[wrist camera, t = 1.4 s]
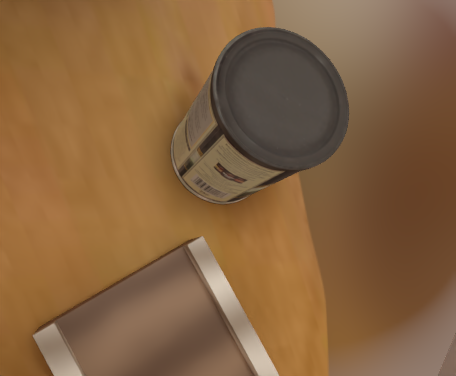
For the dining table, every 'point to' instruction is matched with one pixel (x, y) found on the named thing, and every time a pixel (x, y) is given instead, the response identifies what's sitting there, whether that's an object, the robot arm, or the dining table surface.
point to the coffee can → (260, 117)
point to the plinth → (159, 325)
